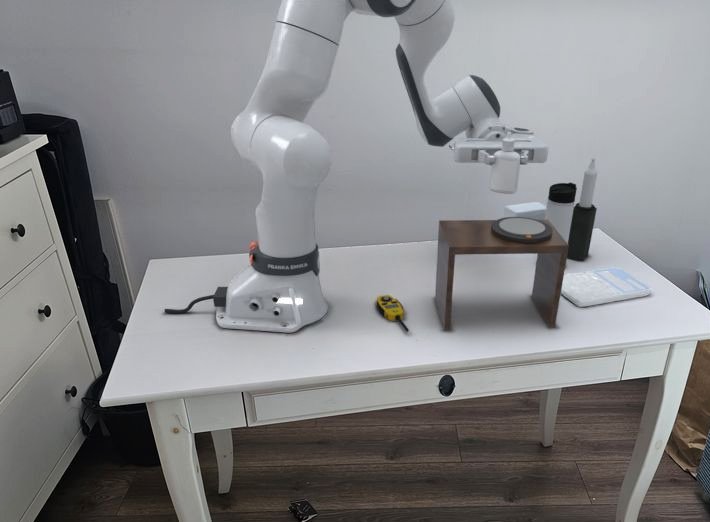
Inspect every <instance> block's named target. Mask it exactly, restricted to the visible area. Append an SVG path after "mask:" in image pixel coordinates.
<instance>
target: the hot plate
mask: <svg viewBox="0 0 710 522" xmlns="http://www.w3.org/2000/svg"><path fill="white" fill-rule="evenodd" d="M495 220H496V221H494V222H493V223H492V225H491V232H492V233H493V234H494V235H495V236H496V237H498V238H500V239H503V240H506V241H510V242H515V243H524V244H532V243H540V242H544V241H547V240H549V239H550V238H551V237H552V232H553V230H552V227H551V226H550V225H548V224H547V223H545V222H542V221H539V220H536V219H531V218H525V217H507V218H503V217H501V218H498V219H495Z"/></svg>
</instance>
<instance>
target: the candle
mask: <svg viewBox="0 0 710 522" xmlns="http://www.w3.org/2000/svg"><path fill="white" fill-rule="evenodd" d="M595 161H596V158H595V157H592V158H591V161H590V163H589V165H588V167H587V168H586V169H585V171H584V173H583V179H582V186H581V192H580V197H579V202H577V203H575V204H574V209H573V215H572V221H571V227H570V233H569V239H568V245H569V248H568V253H567V259H570V260H574V261H577V262H583V261H585V259H586V258H588V257H589V253H590V246H591V242H592V236H593V231H594V225H595V221H596V215H597V209H598V208H597V207H596V206H595V205H594V204H593V198H594V192H595V189H596V182H597V177H598V171H597V169H596V162H595Z"/></svg>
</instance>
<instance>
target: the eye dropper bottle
mask: <svg viewBox="0 0 710 522" xmlns="http://www.w3.org/2000/svg"><path fill="white" fill-rule="evenodd" d="M514 142H515V140H514V139H512V137H511V132H508V133H507V137H506V138H504V139H503V141H502V150H500V151H497V152H496V153H495V154H494V156H495V160H494V165H492V166H491V172H490V183H489V190H490V191H491V192H495V193H498V194H506V195H513V194H514V195H515V193H516V192H517V191H518V185H519V178H520V177H519V176H520V169H521V168H520V167H521V165H520V160H521V157H520V155H519V154H518V153H516V152H514V151H513V150H514Z"/></svg>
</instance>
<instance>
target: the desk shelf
mask: <svg viewBox="0 0 710 522" xmlns="http://www.w3.org/2000/svg"><path fill="white" fill-rule="evenodd" d="M496 220H497V219H462V220H461V219H460V220H457V219H455V220H453V219H451V220H444V219H443V220H438V233H437V234H438V235H437V253H436V254H437V256H436V275H435V293H434V294H435V295H434V300H435V304H436V307H437V311H438V314H439V317H440V320H441V324H442V328H443V331H446V332H447V331H451V321H452V320H451V319H452V308H453V307H452V304H453V290H454V275H455V262H456V261H455V260H456V255H459V256H460V255H462V256H463V255H517V254H518V255H519V254H521V255H522V254H523V255H524V254H525V255H527V254H528V255H529V254H530V255H531V254H536V255H537V256H536V263H535V271H534V278H533V284H532V290H531V291H532V292H531V298H532V300H533V302H534V304H535V305H536V307H537V308H538V310H539V312H540V314H541V315H542V318H543V319H544V321H545V323H546V324H547V326H548V327H549V328H550V329H552V328H556V323H557V317H558V311H559V305H560V300H561V295H562V294H561V289H562V283H563V277H564V275H565V271H566V265H567V259H568V258H567V253H568V248H569V245H568V244H567V242H566V241H565V240H564V239H563V238H562V236H561V235H560V234H559V233H558V231H557V230H556V229H555V228H554V226H553V225H552V224H551V223H550V221H549V220H539V221H542V222H545V223H547V224H548V225H550V226H551V227H552V230H553V232H552V237H551V238H550V239H549V240H547V241H544V242H540V243H532V244H524V243H515V242H510V241H506V240H503V239H500V238H498V237H496V236H495V235H494V234H493V233H492V232H491V225H492V223H493V222H494V221H496Z"/></svg>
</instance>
